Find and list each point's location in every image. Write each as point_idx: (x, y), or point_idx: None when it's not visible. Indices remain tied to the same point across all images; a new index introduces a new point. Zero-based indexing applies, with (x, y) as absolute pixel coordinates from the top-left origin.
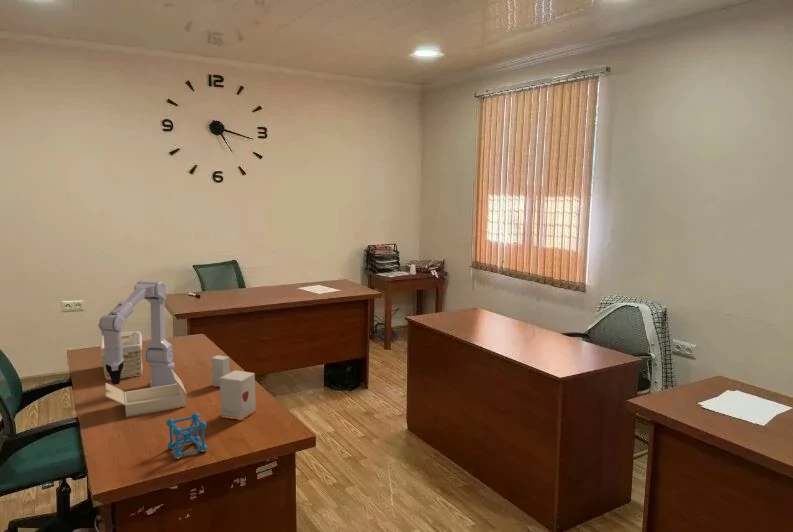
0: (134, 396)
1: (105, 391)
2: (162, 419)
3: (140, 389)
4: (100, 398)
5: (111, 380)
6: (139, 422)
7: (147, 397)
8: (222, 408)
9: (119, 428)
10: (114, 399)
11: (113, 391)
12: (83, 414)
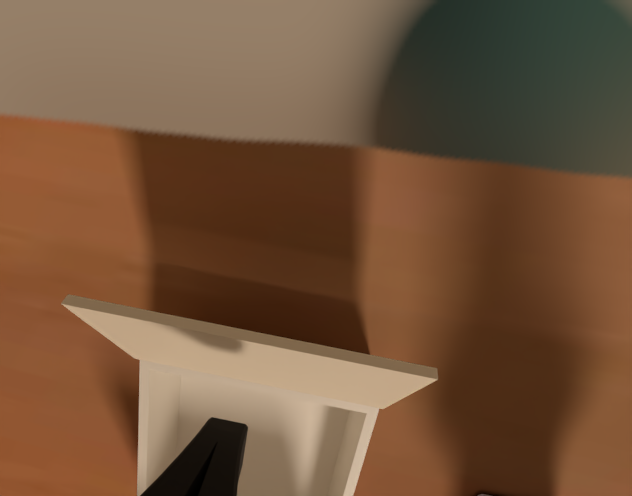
0: (354, 420)
1: (204, 323)
2: (81, 419)
3: (356, 479)
4: (545, 279)
5: (178, 457)
6: (89, 346)
7: (340, 453)
8: None
9: (57, 264)
10: (103, 334)
11: (279, 368)
12: (347, 149)
